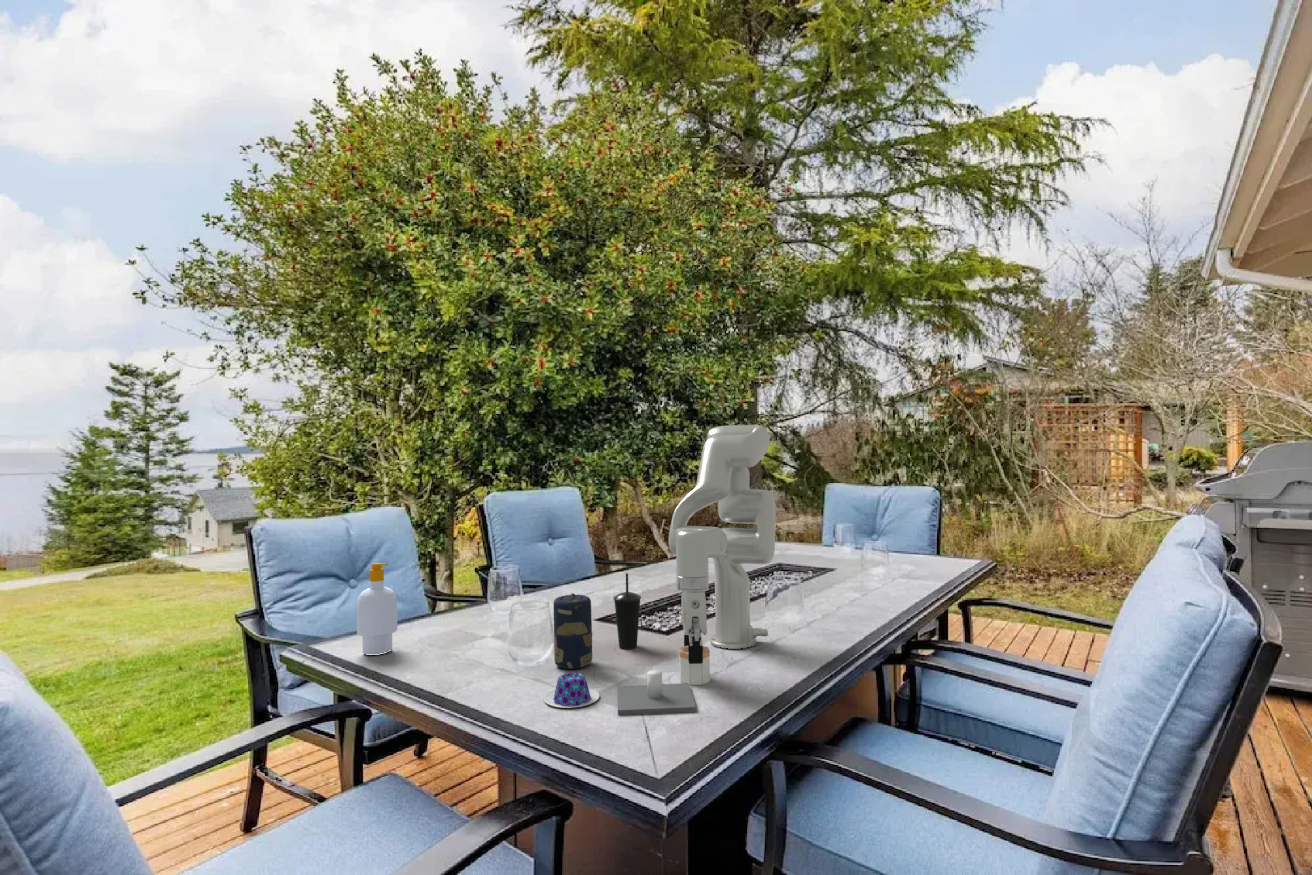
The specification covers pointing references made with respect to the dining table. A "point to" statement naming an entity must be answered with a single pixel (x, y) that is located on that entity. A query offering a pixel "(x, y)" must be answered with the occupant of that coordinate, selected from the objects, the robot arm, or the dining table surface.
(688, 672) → the vent collar
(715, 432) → the robot arm
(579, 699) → the pudding
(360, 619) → the soap bottle
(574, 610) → the canister
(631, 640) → the drinking cup
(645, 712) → the base
